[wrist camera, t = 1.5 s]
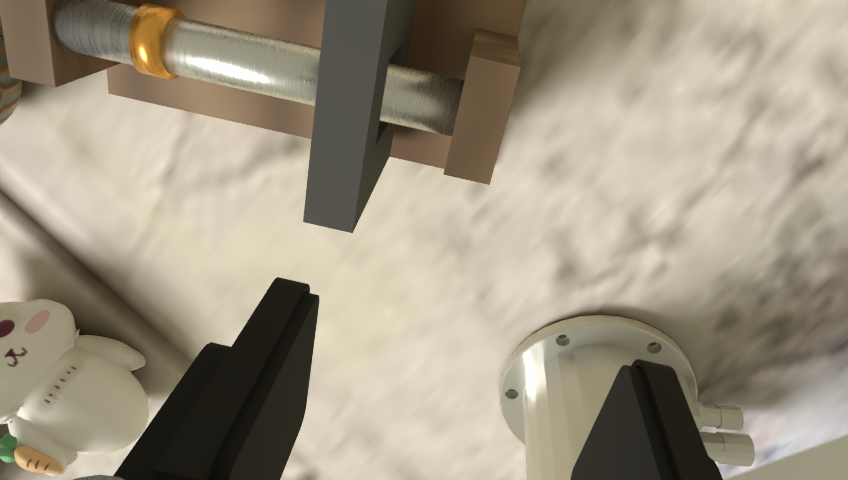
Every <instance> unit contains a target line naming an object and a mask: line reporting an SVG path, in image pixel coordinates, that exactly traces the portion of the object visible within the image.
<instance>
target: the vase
mask: <svg viewBox="0 0 848 480" xmlns="http://www.w3.org/2000/svg"><path fill="white" fill-rule="evenodd" d="M21 91H22V80H21V79H16V78H12V77H10V74H9V68H8V61H7V55H6V49H5V42H4V40H3V39H2V38H1V37H0V125H1V124H3V123H4V122H5V121H6V120H7V119H8V118H9V117H10V115H11V114H12V113H13V111H14V110H15V108H16V106H17V105H18V103H19V100H20V97H21Z"/></svg>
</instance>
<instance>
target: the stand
mask: <svg viewBox="0 0 848 480" xmlns="http://www.w3.org/2000/svg"><path fill="white" fill-rule="evenodd" d="M108 1H112V2H117V3H121V4H126V5H130V6H135V7H139V8H140V7H141V6H142V5H144V4H147V3H149V4H154V5H159V6H163V7H168V8H172V9H177V10H180V11H181V12H183V14H184V15H185V16H186V18H189V19H193V20H198V21H202V22H206V23H211V24H215V25H220V26H224V27H229V28H233V29H238V30H242V31H247V32H251V33H256V34H260V35H265V36H269V37H274V38H278V39H283V40H287V41H292V42H296V43H301V44H305V45H310V46H314V47H319V48H321V42H322V32H323V22H324V12H325V2H326V0H108ZM55 2H56V0H0V17H1V23H2V29H3V36H4V42H5V49H6V55H7V61H8V68H9V74H10V77H12V78H16V79H21V80H25V81H30V82H34V83H38V84H43V85H47V86H52V87H58V86H60V85H63V84H66V83H68V82H71V81H74V80H77V79H79V78H82V77H85V76H88V75H90V74H93V73H96V72H99V71H101V70H104V69H107V77H108V90H109V94H113V95H118V96H122V97H127V98H131V99H136V100H140V101H145V102H149V103H154V104H158V105H162V106H167V107H171V108H176V109H180V110H185V111H189V112H194V113H198V114H203V115H207V116H211V117H216V118H220V119H225V120H229V121H234V122H238V123H243V124H247V125H252V126H256V127H260V128H265V129H269V130H274V131H278V132H283V133H287V134H292V135H296V136H301V137H305V138H309V139H312V131H313V121H314V111H315V106H313V105H308V104H304V103H300V102H295V101H291V100H286V99H282V98H277V97H273V96H268V95H264V94H259V93H255V92H250V91H246V90H241V89H237V88H233V87H228V86H224V85H219V84H215V83H210V82H206V81H201V80H197V79H192V78H188V77H183V76H179V77H178V78H176V79H174V80H170V79H165V78H161V77H156V76H152V75H148V74H143V73H140V72H139V71H138V70H137V69H136V68H135V67H134V65H130V64H125V63H121V62H116V61H112V60H107V59H103V58H99V57H94V56H90V55H85V54H81V53H76V52H72V51H67V50H64V49H63V48H61V47H60V46H59V45H58V43H57V42H56V40H55V38H54V35H53V32H52V27H51V15H52V10H53V6H54V4H55ZM525 3H526V0H417V2H416V8H415V13H414V19H413V25H412V31H411V36H410V42H409V48H408V54H407V60H406V65H405V67H408V68H413V69H417V70H422V71H426V72H431V73H435V74H440V75H444V76H449V77H453V78H458V79H462V80H465V81H464V86H463V90H462V94H461V99H460V103H459V108H458V112H457V117H456V121H455V126H454V130H453V134H452V137H451V136H447V135H442V134H438V133H434V132H429V131H425V130H420V129H416V128H411V127H407V126H402V125H398V124H395V129H394V135H393V140H392V146H391V152H390V157H394V158H399V159H403V160H408V161H412V162H416V163H421V164H425V165H430V166H434V167H439V168H443V169H445V170H444V175H448V176H453V177H457V178H462V179H466V180H471V181H475V182H479V183H484V184H488V185H490V181H491V177H492V173H493V170H494V166H495V162H496V159H497V155H498V151H499V147H500V144H501V140H502V136H503V133H504V129H505V125H506V122H507V118H508V114H509V110H510V107H511V103H512V99H513V96H514V92H515V88H516V84H517V81H518V77H519V73H520V70H521V63H520V56H519V49H518V43H517V34H518V30H519V26H520V22H521V19H522V15H523V11H524V7H525Z"/></svg>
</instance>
